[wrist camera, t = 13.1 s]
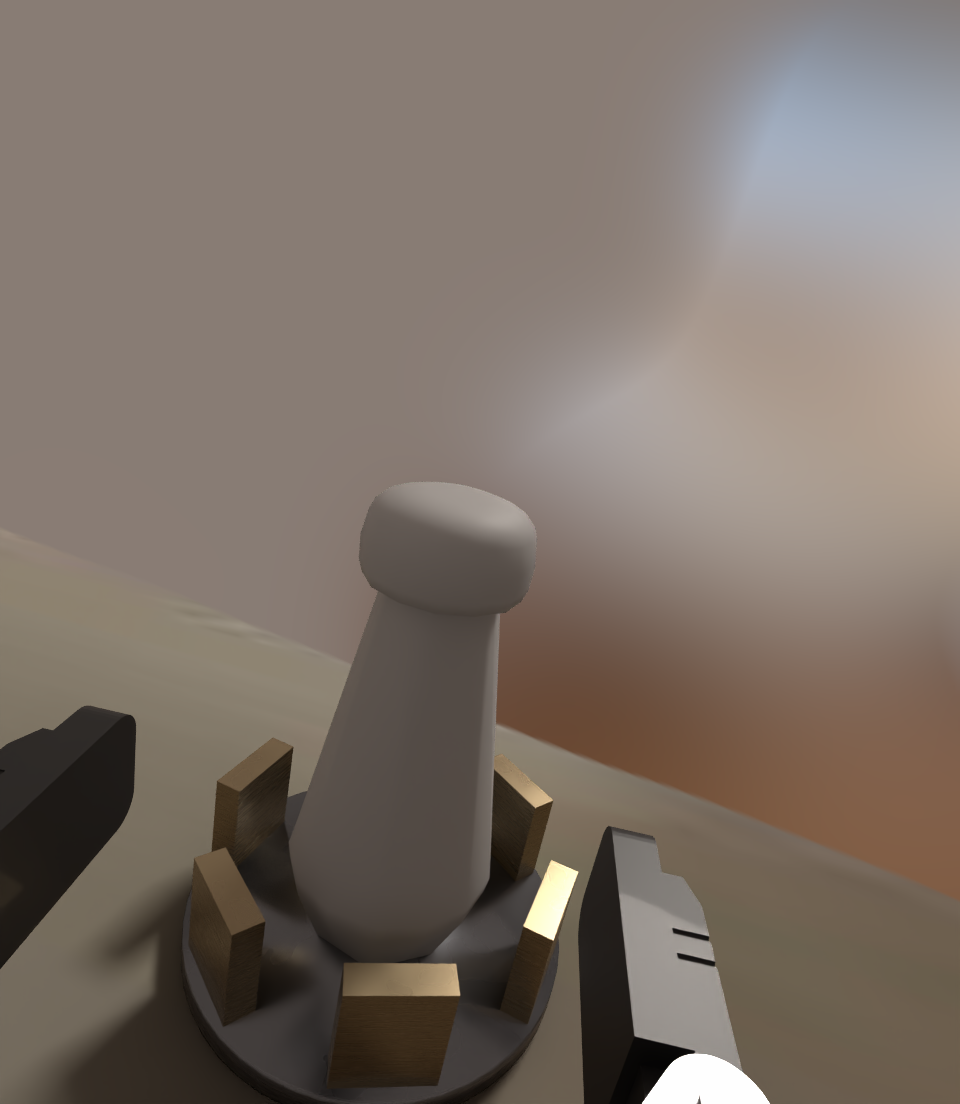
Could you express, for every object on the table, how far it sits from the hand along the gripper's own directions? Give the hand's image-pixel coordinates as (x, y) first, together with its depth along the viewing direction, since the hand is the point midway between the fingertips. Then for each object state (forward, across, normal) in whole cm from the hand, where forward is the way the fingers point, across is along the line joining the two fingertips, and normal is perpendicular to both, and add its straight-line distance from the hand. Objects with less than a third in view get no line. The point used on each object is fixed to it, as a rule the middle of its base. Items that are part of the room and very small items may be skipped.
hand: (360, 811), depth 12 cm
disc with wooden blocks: (+7, 0, +10) cm, 12 cm away
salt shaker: (+7, 0, +9) cm, 12 cm away
